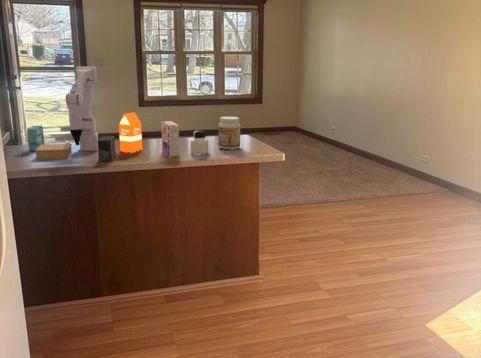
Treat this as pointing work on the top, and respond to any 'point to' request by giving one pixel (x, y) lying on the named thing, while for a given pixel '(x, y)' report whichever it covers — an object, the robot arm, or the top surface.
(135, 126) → the orange juice
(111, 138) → the small box
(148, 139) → the top surface
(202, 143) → the medicine bottle
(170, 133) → the candy box
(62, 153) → the mailer box
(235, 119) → the supplement tub
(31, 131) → the data package
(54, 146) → the mailer lid
